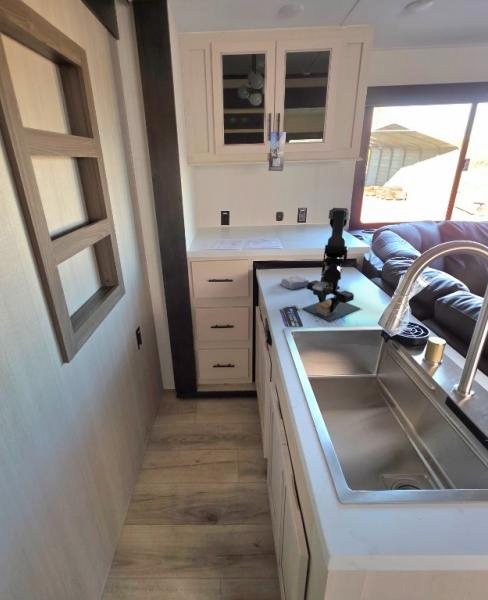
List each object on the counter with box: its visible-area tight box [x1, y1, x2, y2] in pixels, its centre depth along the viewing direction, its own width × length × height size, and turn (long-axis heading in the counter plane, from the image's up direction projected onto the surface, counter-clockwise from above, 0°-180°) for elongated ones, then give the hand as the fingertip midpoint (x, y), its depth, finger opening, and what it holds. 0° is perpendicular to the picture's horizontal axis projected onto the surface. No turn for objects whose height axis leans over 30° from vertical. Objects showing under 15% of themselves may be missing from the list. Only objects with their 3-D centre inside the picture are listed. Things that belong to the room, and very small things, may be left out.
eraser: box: [317, 299, 337, 316], centre depth 128 cm, size 7×4×4 cm, turn 125°
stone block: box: [280, 275, 310, 290], centre depth 158 cm, size 12×5×10 cm
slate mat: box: [302, 297, 361, 322], centre depth 133 cm, size 20×14×1 cm
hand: (326, 310), depth 129 cm, fingers closed on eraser, 4 cm apart
